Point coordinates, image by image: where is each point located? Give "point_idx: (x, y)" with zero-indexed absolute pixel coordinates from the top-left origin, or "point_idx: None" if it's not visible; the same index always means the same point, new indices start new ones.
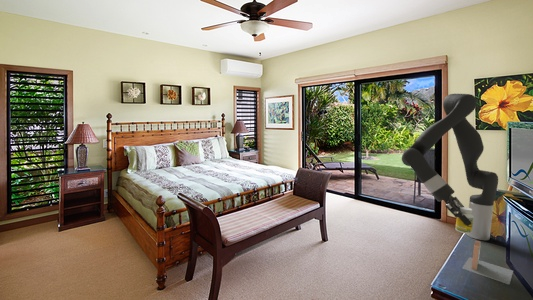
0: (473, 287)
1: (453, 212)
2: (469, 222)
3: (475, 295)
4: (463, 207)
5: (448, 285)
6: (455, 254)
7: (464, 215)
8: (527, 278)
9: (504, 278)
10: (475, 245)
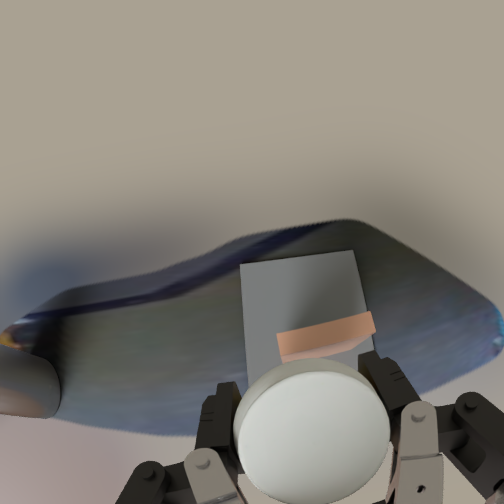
0: (444, 303)
1: (476, 461)
2: (376, 361)
3: (469, 285)
4: (283, 480)
5: (485, 340)
6: None
7: (407, 401)
8: (250, 235)
9: (325, 266)
10: (355, 331)
